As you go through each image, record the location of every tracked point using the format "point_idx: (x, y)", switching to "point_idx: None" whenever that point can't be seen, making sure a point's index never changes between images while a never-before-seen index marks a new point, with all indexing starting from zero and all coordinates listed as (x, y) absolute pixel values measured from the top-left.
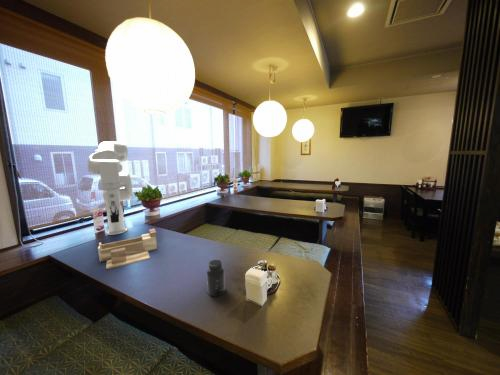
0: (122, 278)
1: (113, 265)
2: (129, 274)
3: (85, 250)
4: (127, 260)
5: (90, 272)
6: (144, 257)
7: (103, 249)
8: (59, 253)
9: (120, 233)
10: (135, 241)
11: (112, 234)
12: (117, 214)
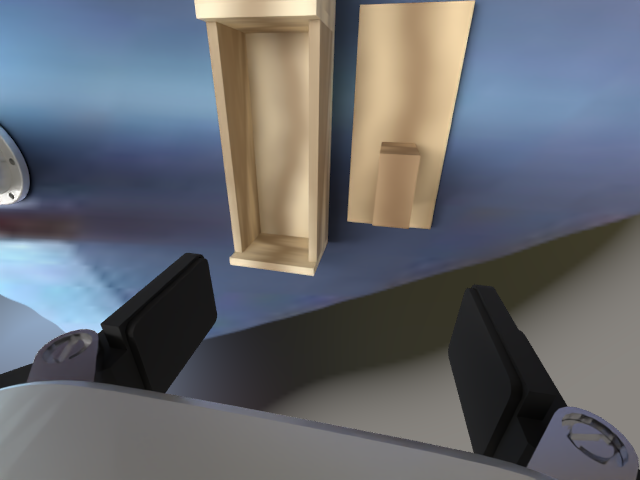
0: (595, 172)
1: (425, 201)
2: (584, 139)
3: None
4: (416, 137)
5: (408, 273)
6: (450, 37)
7: (312, 249)
8: None
9: (15, 145)
10: (233, 75)
11: (27, 181)
12: (545, 396)
